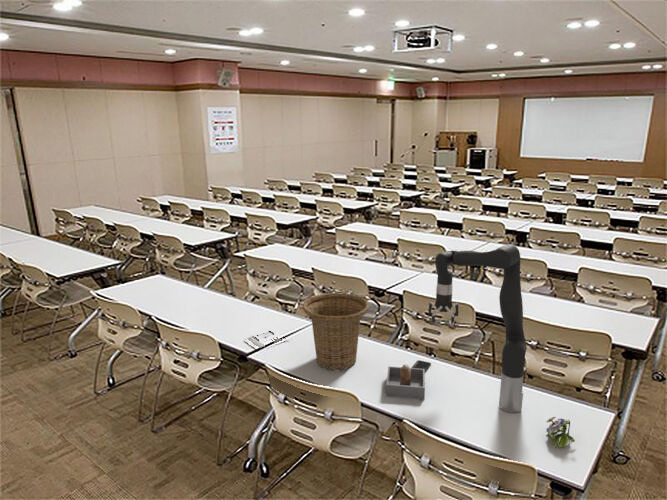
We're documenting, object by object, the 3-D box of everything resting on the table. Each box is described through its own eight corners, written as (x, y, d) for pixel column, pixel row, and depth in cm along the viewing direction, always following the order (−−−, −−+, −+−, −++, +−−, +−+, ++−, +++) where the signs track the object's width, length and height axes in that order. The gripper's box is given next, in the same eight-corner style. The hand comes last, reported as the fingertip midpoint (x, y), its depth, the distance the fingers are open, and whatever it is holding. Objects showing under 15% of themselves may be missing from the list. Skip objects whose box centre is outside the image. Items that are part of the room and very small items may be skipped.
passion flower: (548, 447, 202) (549, 417, 206) (577, 452, 196) (577, 420, 200) (542, 445, 193) (543, 414, 197) (572, 450, 187) (572, 417, 191)
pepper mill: (410, 383, 240) (410, 363, 237) (410, 388, 235) (411, 368, 233) (400, 382, 240) (400, 363, 238) (400, 387, 236) (400, 368, 233)
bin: (424, 379, 245) (424, 368, 243) (424, 399, 228) (424, 387, 226) (388, 377, 248) (388, 366, 246) (385, 396, 231) (386, 384, 229)
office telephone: (258, 348, 277) (240, 337, 292) (258, 352, 277) (241, 341, 292) (291, 336, 291) (273, 326, 306) (291, 340, 292) (273, 330, 307)
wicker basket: (333, 384, 241) (332, 322, 233) (291, 360, 267) (289, 303, 258) (381, 361, 264) (382, 304, 255) (338, 341, 289) (338, 288, 280)
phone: (407, 372, 251) (417, 359, 264) (407, 374, 251) (417, 361, 264) (422, 375, 247) (431, 363, 260) (422, 377, 248) (431, 365, 260)
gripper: (429, 293, 232) (428, 325, 236) (460, 295, 230) (458, 326, 234) (429, 288, 239) (427, 319, 243) (458, 289, 237) (457, 320, 241)
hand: (442, 322), depth 239 cm, fingers open, 8 cm apart
